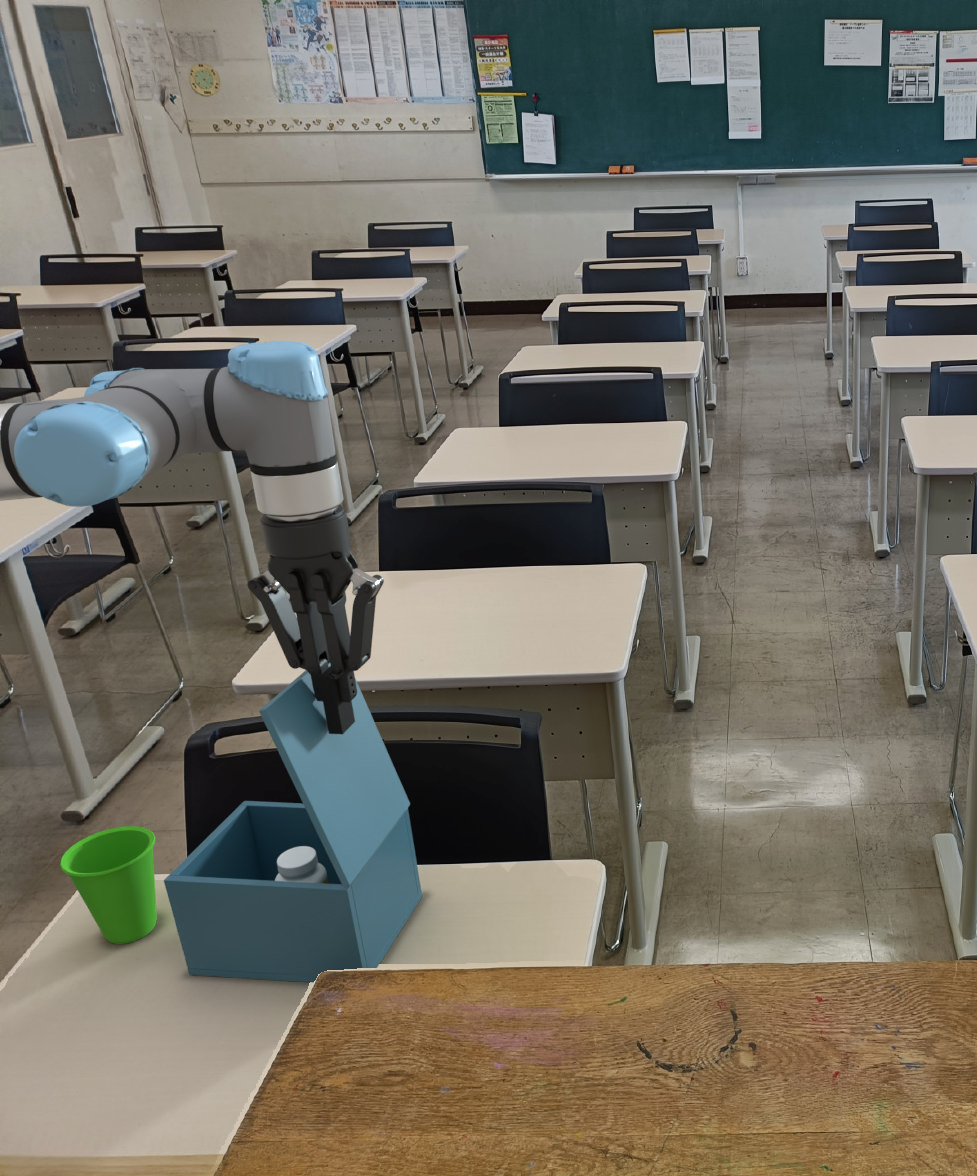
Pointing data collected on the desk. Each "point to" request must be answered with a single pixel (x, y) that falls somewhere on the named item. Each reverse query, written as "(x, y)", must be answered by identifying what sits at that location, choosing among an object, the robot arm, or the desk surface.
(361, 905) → the chest
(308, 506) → the robot arm
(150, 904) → the cup
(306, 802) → the lid
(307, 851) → the supplement bottle
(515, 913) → the desk surface
